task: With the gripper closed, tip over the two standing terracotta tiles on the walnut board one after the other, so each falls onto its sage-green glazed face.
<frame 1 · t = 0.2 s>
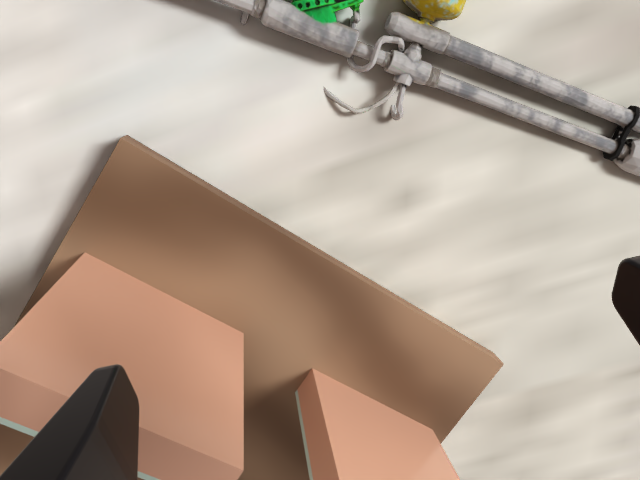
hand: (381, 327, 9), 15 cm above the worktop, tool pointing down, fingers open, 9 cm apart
flamethrower: (438, 23, 23), on the worktop
tile a: (366, 411, 26), point 1 cm above the worktop, touching board
board: (238, 395, 26), on the worktop
tile b: (159, 308, 23), point 1 cm above the worktop, touching board
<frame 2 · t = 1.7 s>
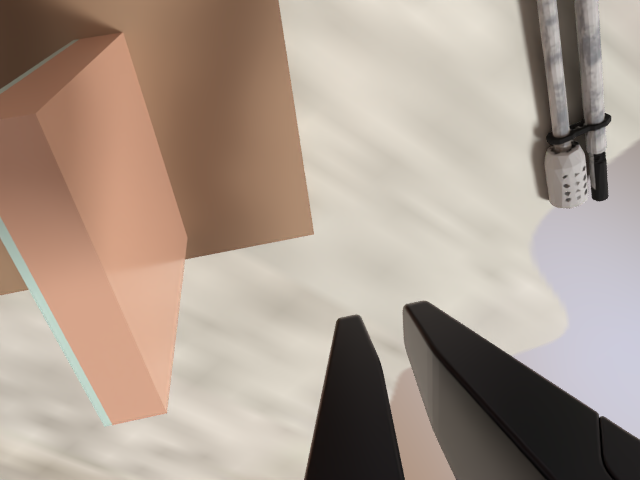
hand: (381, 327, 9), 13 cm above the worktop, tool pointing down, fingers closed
tile a: (137, 150, 18), point 1 cm above the worktop, touching board
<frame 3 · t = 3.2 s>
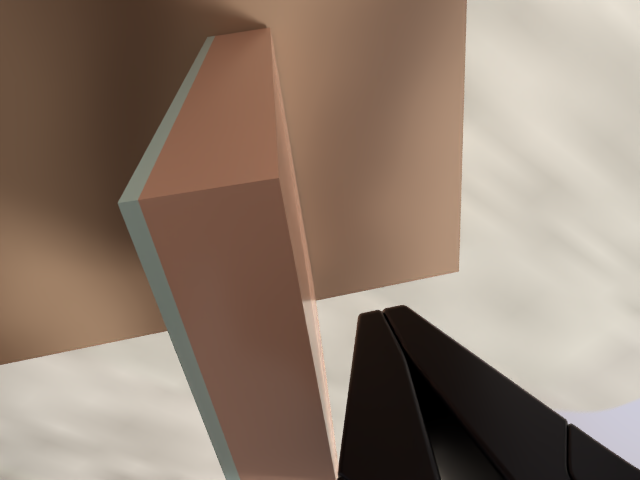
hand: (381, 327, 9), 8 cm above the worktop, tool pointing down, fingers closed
tile a: (267, 176, 15), point 1 cm above the worktop, touching board, gripper
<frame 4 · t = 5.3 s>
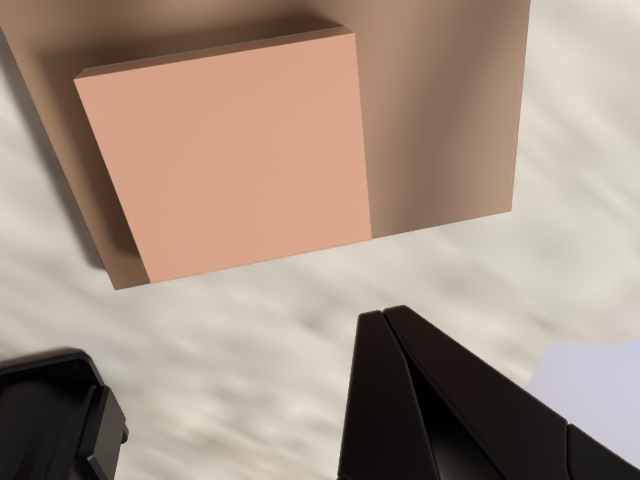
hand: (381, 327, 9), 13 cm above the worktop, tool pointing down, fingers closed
tile a: (359, 140, 19), point 2 cm above the worktop, tilted 90°, touching board
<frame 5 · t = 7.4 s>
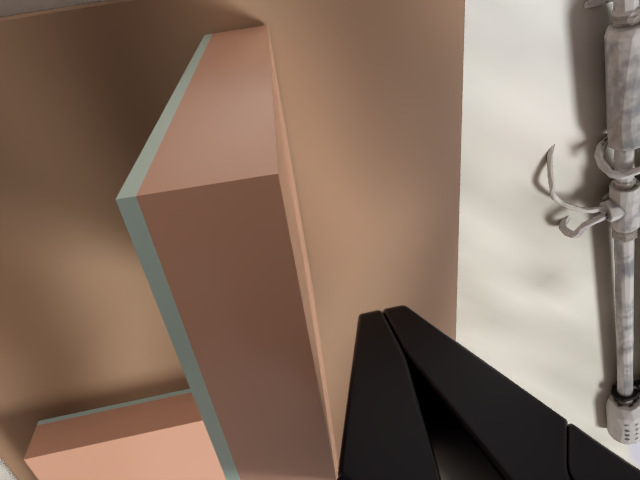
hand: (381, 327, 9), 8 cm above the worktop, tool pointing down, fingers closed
tile a: (298, 451, 20), point 2 cm above the worktop, tilted 90°, touching board
board: (214, 320, 19), on the worktop
tile b: (265, 174, 15), point 1 cm above the worktop, touching board, gripper
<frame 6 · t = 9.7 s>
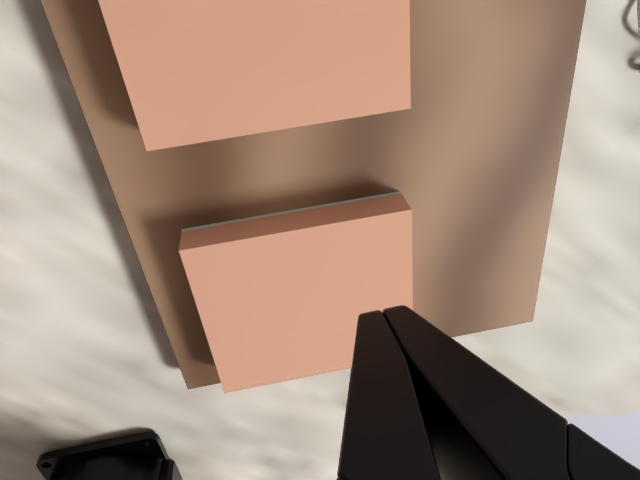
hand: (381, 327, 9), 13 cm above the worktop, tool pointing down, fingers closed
tile a: (407, 278, 22), point 2 cm above the worktop, tilted 90°, touching board
board: (341, 143, 20), on the worktop
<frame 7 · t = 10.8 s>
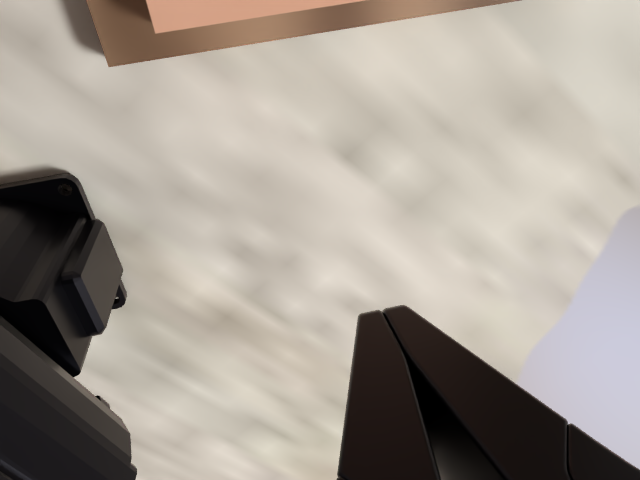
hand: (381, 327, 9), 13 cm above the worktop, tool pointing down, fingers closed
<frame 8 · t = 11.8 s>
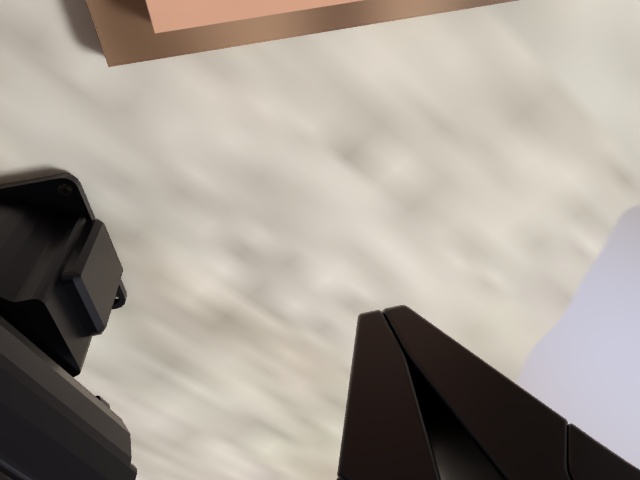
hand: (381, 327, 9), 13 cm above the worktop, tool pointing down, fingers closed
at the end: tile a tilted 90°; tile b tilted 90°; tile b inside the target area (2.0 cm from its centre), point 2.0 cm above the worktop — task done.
